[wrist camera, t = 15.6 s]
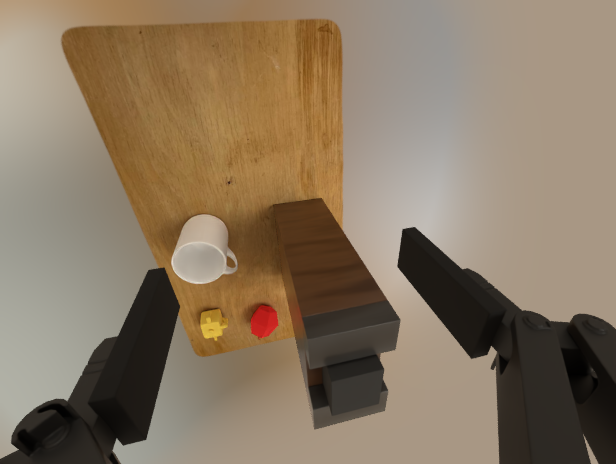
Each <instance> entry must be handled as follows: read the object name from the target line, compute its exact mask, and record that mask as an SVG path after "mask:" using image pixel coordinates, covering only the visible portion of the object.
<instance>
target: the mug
mask: <svg viewBox="0 0 616 464" xmlns="http://www.w3.org/2000/svg"><path fill="white" fill-rule="evenodd" d="M227 256H229V257H230V258H232V259H233V260H234V262H235V264H236V266H235V268H231V267H229V266H227V265H226V263H227ZM172 267H173V270H174V272H175V273H176V274H177V275H178V276H179V277H180V278H182V279H183V280H185V281H187V282H191V283H196V284H204V283H209V282H212V281H214V280H216V279H218V278H219V277H220V276H221V275H222V274H232V273H234V272H236V271H237V269H238V263H237V259H236V257H235V255H234V253H233V252H232V251H231V250H230V249H229V248H228V230H227V228H226V226H225V224H224V223H223V222H222V221H221V220H220V219H219V218H217V217H215V216H212V215H206V214H202V215H197V216H194V217H192V218H190V219H189V220H188V221H187V222H186V223H185V225H184V226H183V229H182V231H181V234H180V237H179V240H178V242H177V245H176V248H175V251H174V253H173V256H172Z"/></svg>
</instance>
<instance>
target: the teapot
mask: <svg viewBox="0 0 616 464" xmlns="http://www.w3.org/2000/svg"><path fill="white" fill-rule="evenodd" d="M227 327H228V319H227V318H223V317H222V314H221V311H220V309H215V310H210V311H205V312H202V314H201V329H202V332H203V335H204V337H205V338H211V337H214V339H215V341H217V337H218V336H220V335H222V333H223V328H227Z"/></svg>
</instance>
